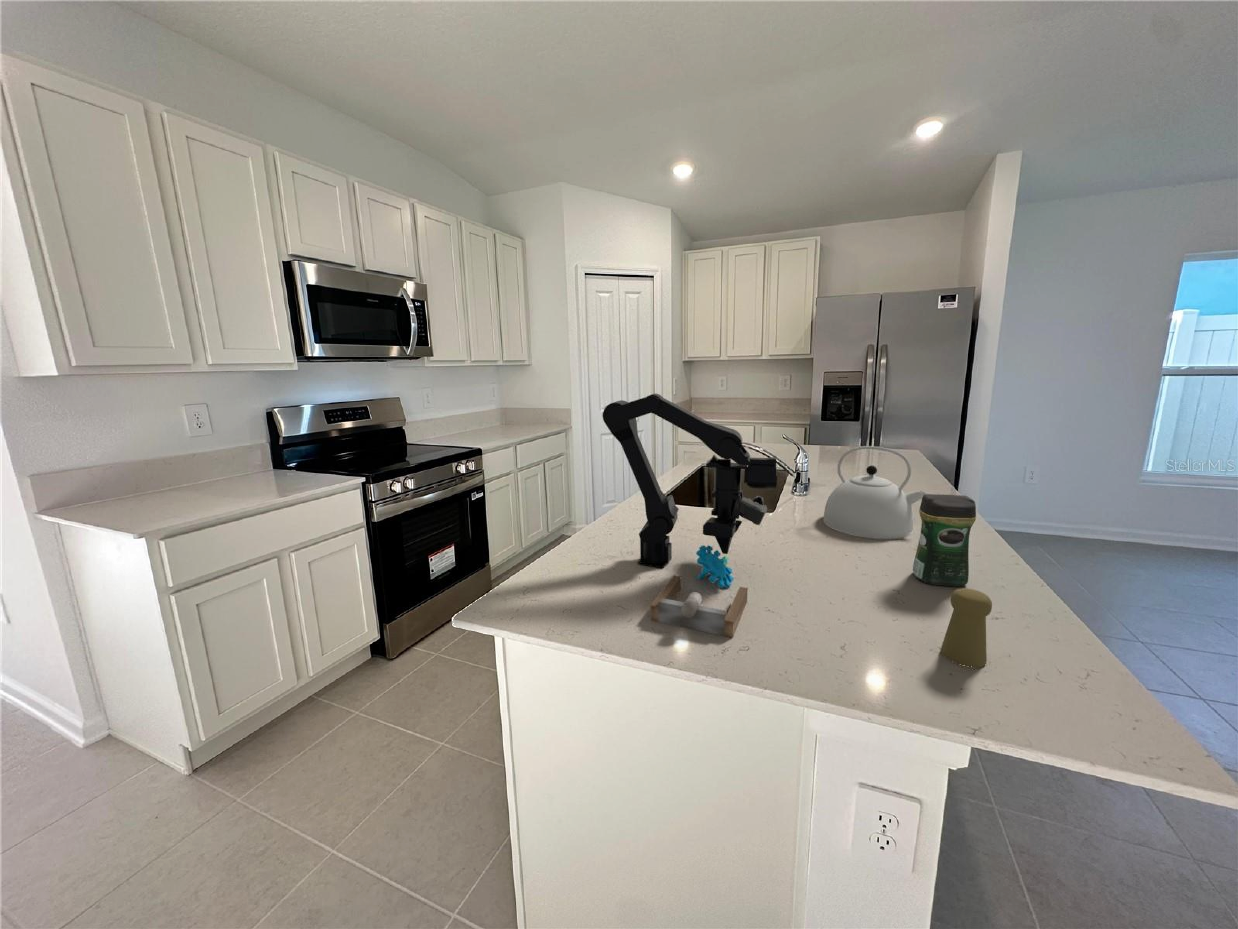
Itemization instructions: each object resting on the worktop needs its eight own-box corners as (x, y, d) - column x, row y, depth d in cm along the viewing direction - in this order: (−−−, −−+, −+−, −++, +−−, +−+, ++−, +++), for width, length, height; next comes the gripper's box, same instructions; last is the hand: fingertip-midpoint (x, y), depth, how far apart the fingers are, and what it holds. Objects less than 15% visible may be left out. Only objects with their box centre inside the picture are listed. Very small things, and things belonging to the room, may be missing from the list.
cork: (931, 646, 80) (939, 584, 77) (966, 644, 80) (975, 582, 78) (959, 669, 74) (969, 603, 71) (996, 666, 74) (1007, 600, 72)
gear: (721, 590, 97) (693, 547, 100) (701, 604, 100) (674, 562, 103) (744, 577, 105) (717, 539, 109) (725, 590, 108) (699, 552, 112)
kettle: (924, 521, 139) (933, 443, 134) (921, 547, 121) (932, 458, 116) (830, 508, 153) (836, 437, 148) (815, 529, 134) (821, 449, 129)
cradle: (647, 624, 88) (647, 596, 86) (673, 588, 101) (674, 564, 100) (730, 643, 81) (731, 613, 80) (747, 602, 95) (748, 576, 94)
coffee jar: (956, 573, 106) (968, 491, 102) (972, 590, 98) (985, 502, 94) (907, 569, 108) (916, 489, 104) (919, 585, 101) (929, 499, 97)
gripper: (758, 502, 95) (755, 576, 98) (770, 480, 112) (767, 544, 115) (702, 496, 100) (701, 567, 103) (722, 476, 116) (720, 537, 119)
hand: (725, 553), depth 110 cm, fingers closed
